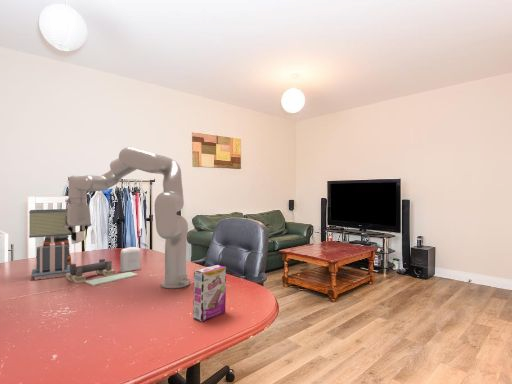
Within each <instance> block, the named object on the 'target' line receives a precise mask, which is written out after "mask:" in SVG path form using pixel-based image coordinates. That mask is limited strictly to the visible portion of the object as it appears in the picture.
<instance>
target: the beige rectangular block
mask: <svg viewBox="0 0 512 384" xmlns="http://www.w3.org/2000/svg"><path fill="white" fill-rule="evenodd" d="M85 238H86V237H85V231H81V232H79V231H77V232H76V241H73V240H72V238H71V237H70V240H71V241H70V242H71V245H74V244H79V243H81V242H83V241H85Z"/></svg>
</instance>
